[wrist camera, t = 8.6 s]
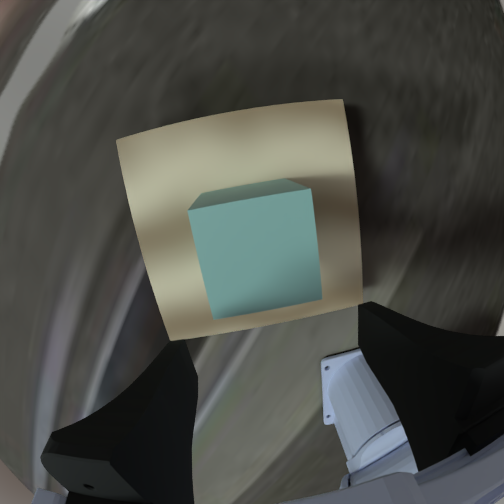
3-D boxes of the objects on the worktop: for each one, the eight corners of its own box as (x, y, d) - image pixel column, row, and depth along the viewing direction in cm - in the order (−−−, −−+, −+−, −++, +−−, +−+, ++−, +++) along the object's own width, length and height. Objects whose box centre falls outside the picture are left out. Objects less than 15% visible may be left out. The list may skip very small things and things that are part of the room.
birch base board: (350, 289, 23) (362, 303, 21) (175, 323, 23) (170, 341, 20) (329, 105, 19) (342, 99, 16) (128, 141, 18) (115, 140, 16)
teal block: (295, 257, 19) (322, 299, 13) (217, 271, 19) (213, 319, 13) (284, 178, 18) (310, 188, 12) (201, 193, 17) (187, 210, 12)
